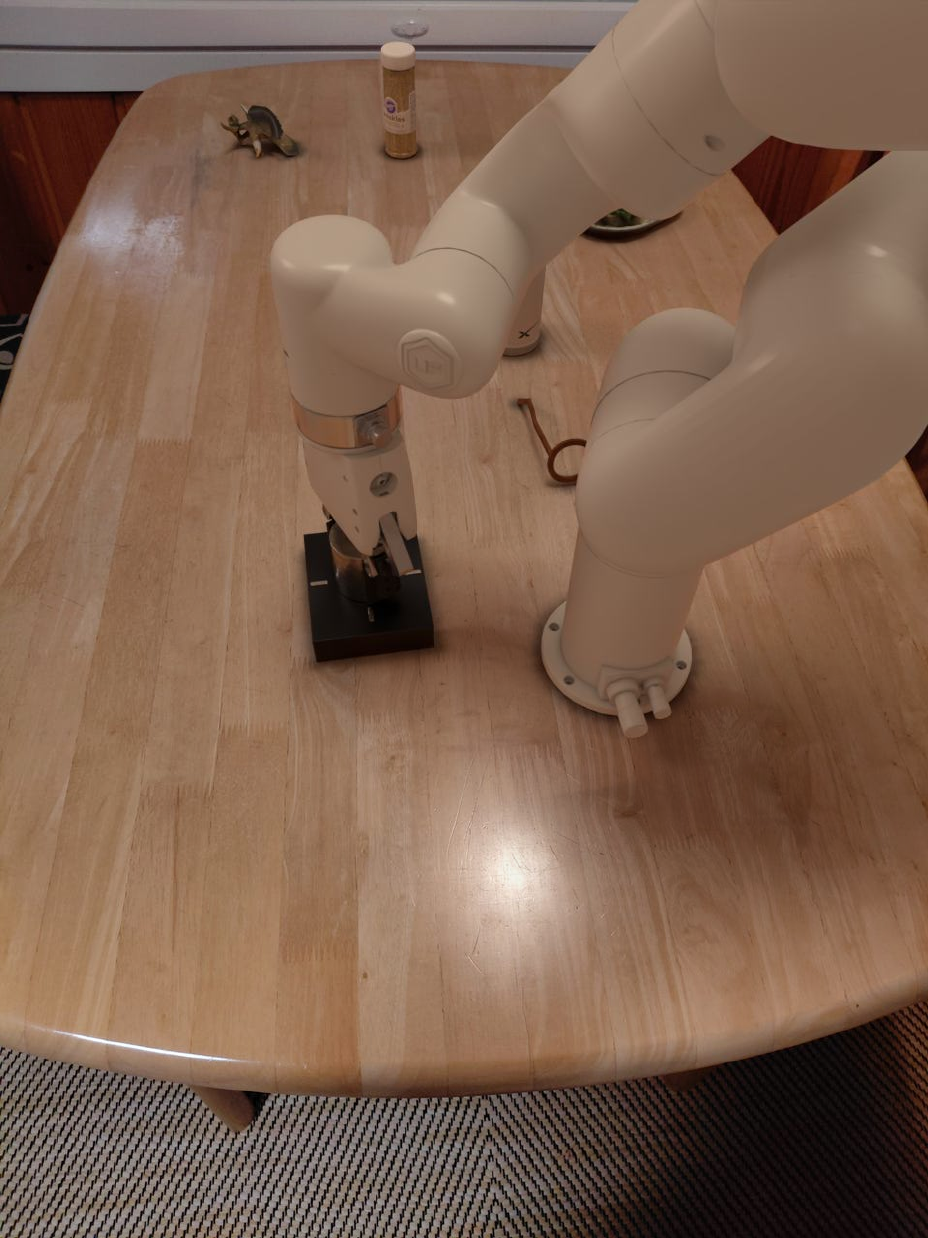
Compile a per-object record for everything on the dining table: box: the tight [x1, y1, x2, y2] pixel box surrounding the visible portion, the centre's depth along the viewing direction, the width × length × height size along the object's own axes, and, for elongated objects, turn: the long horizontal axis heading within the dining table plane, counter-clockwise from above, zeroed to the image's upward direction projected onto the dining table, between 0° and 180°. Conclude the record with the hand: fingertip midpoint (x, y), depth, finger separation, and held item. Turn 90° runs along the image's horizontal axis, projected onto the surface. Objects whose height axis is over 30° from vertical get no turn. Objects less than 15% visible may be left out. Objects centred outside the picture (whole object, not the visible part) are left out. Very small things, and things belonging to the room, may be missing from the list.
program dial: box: [329, 522, 387, 602], centre depth 77 cm, size 5×5×6 cm
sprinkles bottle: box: [379, 41, 418, 159], centre depth 126 cm, size 5×5×13 cm
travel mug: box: [502, 265, 547, 357], centre depth 97 cm, size 6×7×20 cm
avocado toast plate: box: [582, 208, 666, 241], centre depth 122 cm, size 19×18×5 cm
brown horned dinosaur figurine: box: [219, 103, 300, 158], centre depth 129 cm, size 8×7×9 cm
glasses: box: [516, 397, 587, 484], centre depth 94 cm, size 13×13×5 cm
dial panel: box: [303, 531, 435, 663], centre depth 81 cm, size 12×10×3 cm
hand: (365, 570), depth 79 cm, fingers closed on program dial, 5 cm apart
